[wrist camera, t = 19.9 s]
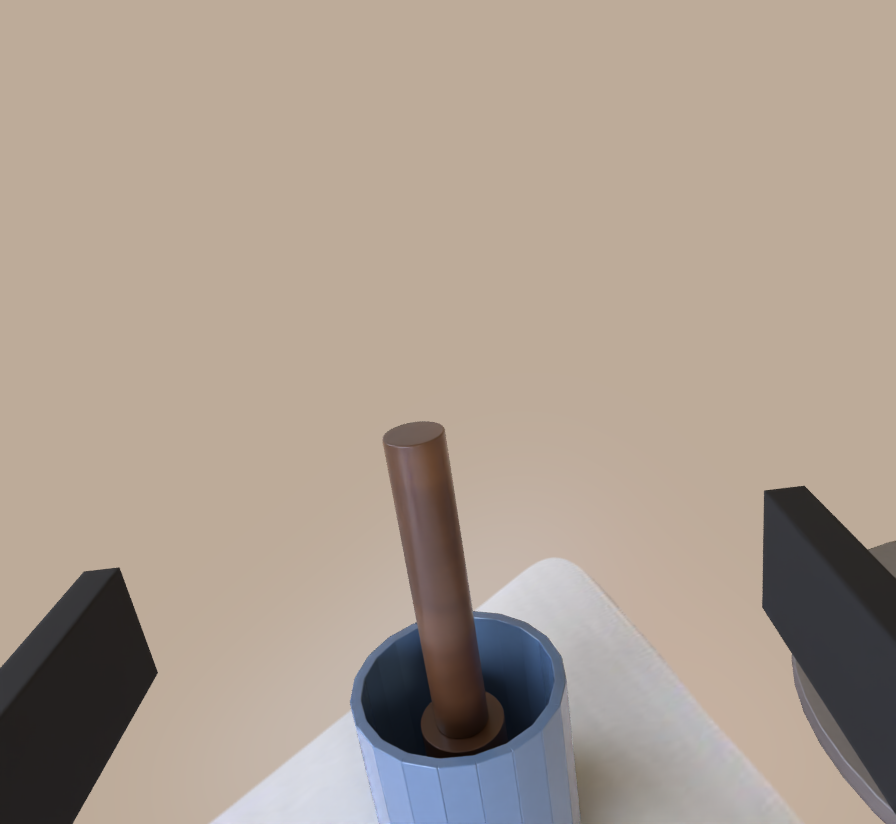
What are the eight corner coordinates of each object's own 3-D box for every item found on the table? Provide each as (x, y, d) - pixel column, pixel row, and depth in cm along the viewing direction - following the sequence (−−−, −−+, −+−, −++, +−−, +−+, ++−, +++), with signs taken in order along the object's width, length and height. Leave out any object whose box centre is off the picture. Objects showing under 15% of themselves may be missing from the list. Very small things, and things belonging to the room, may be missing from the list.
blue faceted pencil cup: (565, 740, 38) (550, 601, 35) (597, 917, 30) (581, 754, 26) (394, 756, 39) (365, 622, 36) (376, 935, 30) (334, 778, 27)
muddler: (515, 777, 36) (462, 409, 29) (521, 848, 32) (463, 447, 25) (440, 784, 36) (370, 420, 29) (438, 855, 32) (357, 459, 25)
